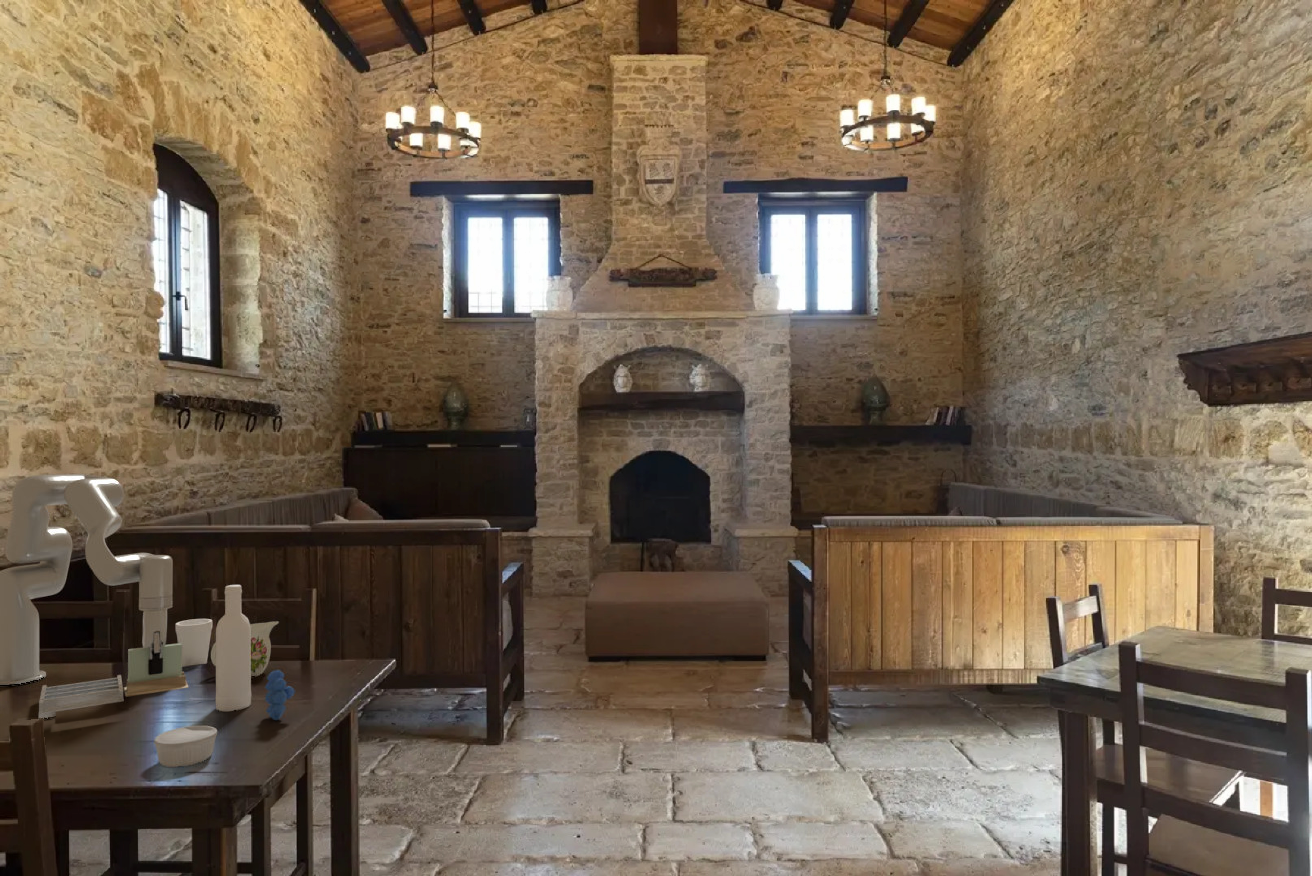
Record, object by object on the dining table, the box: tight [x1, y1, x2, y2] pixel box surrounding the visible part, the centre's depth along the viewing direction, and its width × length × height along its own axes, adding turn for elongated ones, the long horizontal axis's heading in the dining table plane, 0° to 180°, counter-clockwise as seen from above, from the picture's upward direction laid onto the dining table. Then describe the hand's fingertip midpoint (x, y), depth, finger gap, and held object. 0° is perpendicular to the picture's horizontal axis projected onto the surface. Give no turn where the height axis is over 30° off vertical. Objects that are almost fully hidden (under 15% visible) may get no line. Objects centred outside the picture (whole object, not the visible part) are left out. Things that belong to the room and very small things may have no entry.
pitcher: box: [210, 621, 280, 677], centre depth 234 cm, size 11×18×14 cm, turn 134°
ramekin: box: [153, 725, 218, 768], centre depth 171 cm, size 11×11×5 cm
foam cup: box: [175, 618, 213, 668], centre depth 244 cm, size 10×9×13 cm
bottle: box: [215, 584, 252, 712], centre depth 205 cm, size 8×8×30 cm
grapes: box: [264, 669, 296, 721], centre depth 196 cm, size 12×7×12 cm, turn 36°
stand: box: [123, 671, 189, 698], centre depth 217 cm, size 10×14×4 cm
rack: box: [38, 674, 125, 720], centre depth 208 cm, size 18×17×4 cm
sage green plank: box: [127, 642, 183, 683], centre depth 217 cm, size 2×12×10 cm, turn 124°
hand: (155, 672), depth 217 cm, fingers closed on sage green plank, 2 cm apart
